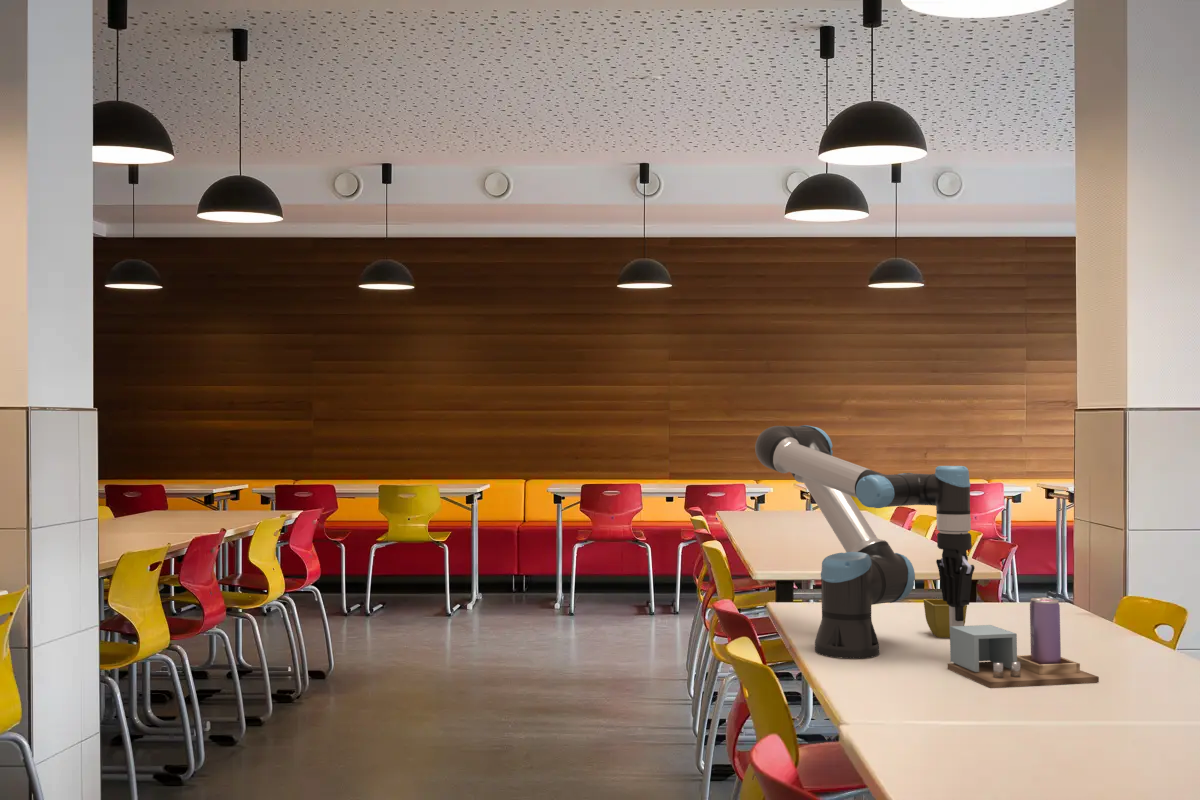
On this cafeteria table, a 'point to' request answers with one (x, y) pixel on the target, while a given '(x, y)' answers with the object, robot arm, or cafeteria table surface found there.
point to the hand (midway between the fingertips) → (956, 634)
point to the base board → (1028, 674)
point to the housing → (981, 645)
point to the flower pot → (939, 617)
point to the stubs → (1014, 669)
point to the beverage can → (1045, 631)
